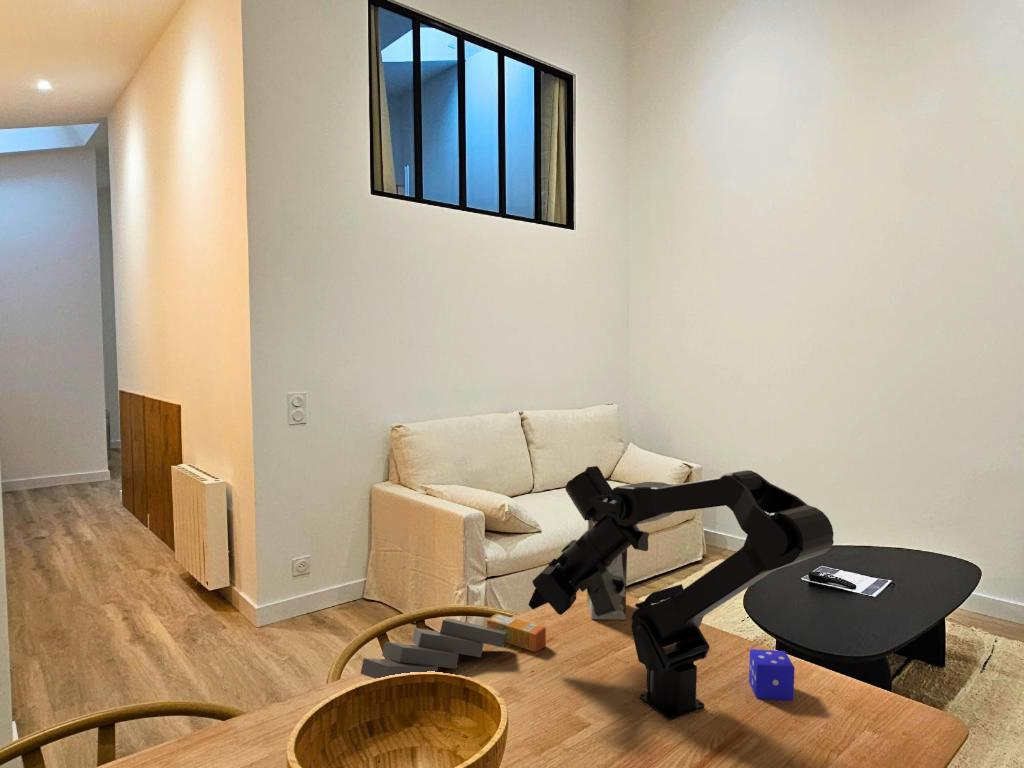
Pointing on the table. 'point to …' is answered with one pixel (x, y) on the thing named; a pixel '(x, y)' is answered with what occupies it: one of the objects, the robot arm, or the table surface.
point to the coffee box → (617, 569)
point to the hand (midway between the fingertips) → (531, 606)
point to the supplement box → (519, 632)
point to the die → (771, 675)
